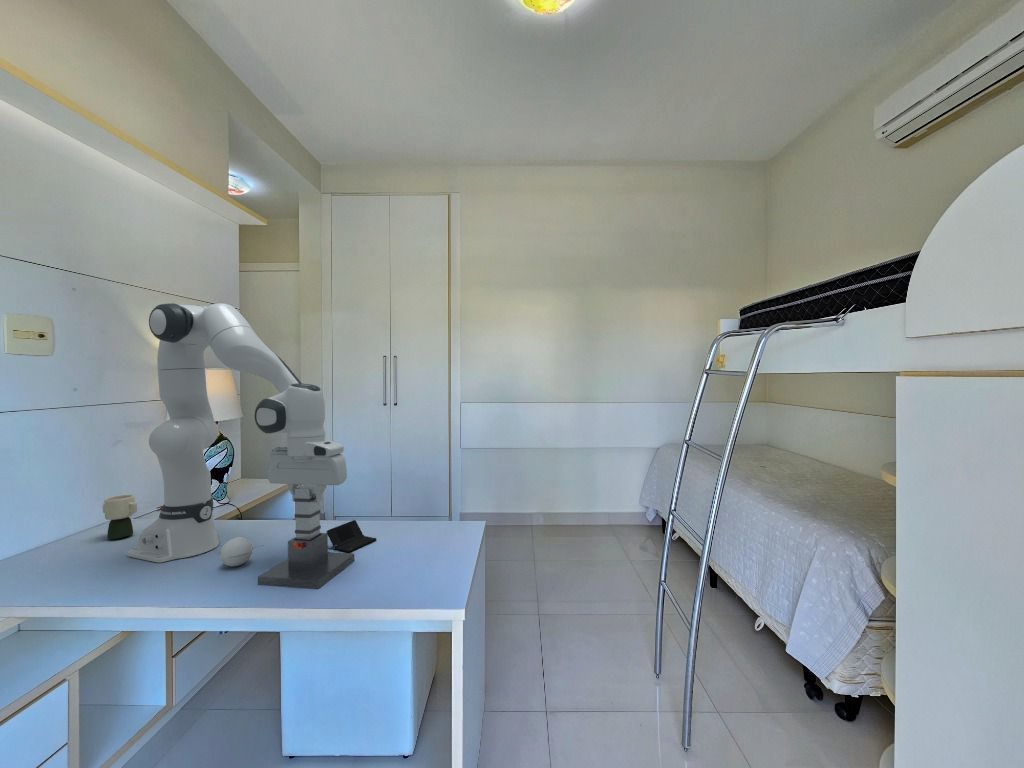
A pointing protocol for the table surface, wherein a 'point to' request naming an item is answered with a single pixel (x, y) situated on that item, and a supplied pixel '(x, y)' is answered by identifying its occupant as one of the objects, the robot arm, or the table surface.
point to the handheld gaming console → (348, 537)
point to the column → (307, 513)
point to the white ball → (236, 551)
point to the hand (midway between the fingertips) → (307, 501)
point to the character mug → (119, 515)
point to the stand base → (307, 565)
